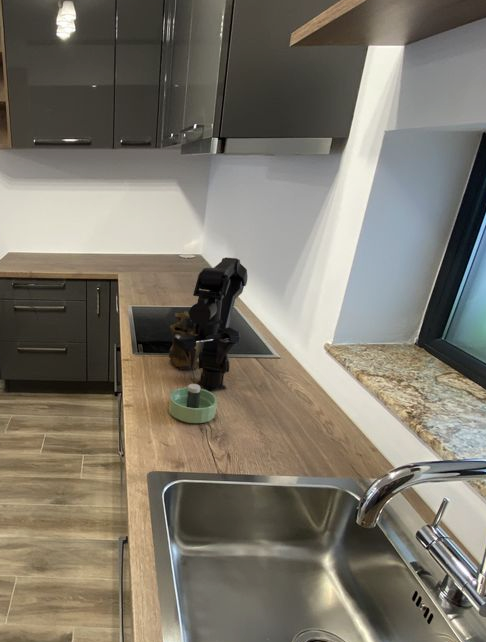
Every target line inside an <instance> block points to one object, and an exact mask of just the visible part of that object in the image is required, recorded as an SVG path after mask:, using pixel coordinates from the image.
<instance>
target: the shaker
mask: <svg viewBox="0 0 486 642" xmlns="http://www.w3.org/2000/svg"><path fill="white" fill-rule="evenodd" d="M187 387H188V391H187V402H186V407H189V408H199V401H200V389H202V386H201V385H200V384H197V383H190V384H188V386H187Z"/></svg>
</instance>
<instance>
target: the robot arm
mask: <svg viewBox="0 0 486 642" xmlns="http://www.w3.org/2000/svg"><path fill="white" fill-rule="evenodd" d="M248 276H249V275H248V269H247V268H246V267H245V266H244V265H243V264H242V263H241V259H239V258H238V257H237V258H236V257H222V259H221V261H220V262H219V263H217V264H216V265H215V266H214V267H204V268H202V269H201V271H200V272H199V273H198V275H197V279H196V283H195V287H194V289H193V295H192V296H193V297H198V298H197V301H196V302H195V303H194V304H193V305H191V307H190V309H189V311H188V314H189V316H190V318H184V319H182V328H183V329H187V330H188V332H190V331H193V333H194V334H197V336H191V335H189V334H188V333H183V334H176V336H175V337H174V344H175V345H177V346H178V347H180V348H181V349H182V350H184V352H185V355H186V358H187V362H188V365H189V368H192V367H193V364H194V359H195V354H196V349H195V346H196V343H199V342H201V343H203V346H202V348H201V351H200V354H199V358H198V369H200V370H201V373H200V377H199V381H198V382H197V383H198V385H199V386H200V387H201V388H203V389H204V390H207V391H209V392H213V391H218V390H225V389H226V385H224V384H223V383H224V376H225V374H226V373H229V372H230V366H231V365H230V359H229V355H228V353H229V351H230V350H231V349H232V348H233V347H234V346H236V345H237V344H238V343H240V342H241V333H240V332H239V331H237V330H235V329H234V328H232V327H229V326H230V322H231V318H232V314H233V310H234V306H235V302H236V300H237V298H239V296H241V295H242V294H243V291H244V288H245V287H246V286H247V284H248V279H249V278H248ZM191 320H192V321H191ZM236 343H237V344H236Z"/></svg>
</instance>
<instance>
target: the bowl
mask: <svg viewBox="0 0 486 642" xmlns="http://www.w3.org/2000/svg"><path fill="white" fill-rule="evenodd" d="M187 391H188V386H185V387H180V388H176V389H174V390H172V391H171V392H170V394H169V400H168V412H169V414H170V415H171V416H172V417H173V418H175V419H176V420H178V421H181V422H184V423H188V424H202V423H208V422H210V421H212V420H214V418H215V417H216V412H217V405H218V397H217V396H216V395H215V394H214V393H213V392H212V391H207V390H206V389H205V388H200V401H199V408H189V407H186V402H187Z"/></svg>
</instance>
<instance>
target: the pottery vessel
mask: <svg viewBox="0 0 486 642" xmlns="http://www.w3.org/2000/svg"><path fill="white" fill-rule="evenodd" d="M174 317H175V318H176V320H177V322H176V323H174V324H171V325H170V326H169V328H170V329H171V336H172V345H171V347H170V348H169V353H168V358H169V359H170V360H169V363H171V364H172V365H174V367H175V368H176V367H178V368H179V369H180V371H182V370H183V371H191V370H195V369H196V368H197V366H198V361H197V360H199V354H200V351H202V342H199V343H196V346H195V349H196V354H195V359H194V364H193V367H192V368H189V365H188V362H187V358H186V355H185V352H184V350H182V349H181V348H180V347H178V346H177V345H175V344H174V337H175V336H176V334H183V333H188V334H189V335H191V336H197V334H194V333H193V331H190V332H188V330H187V329H183V328H182V319H184V318H190V316H189V311H187V310H185V311H184V312H176V313H175V314H174ZM191 321H192V320H191Z"/></svg>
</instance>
